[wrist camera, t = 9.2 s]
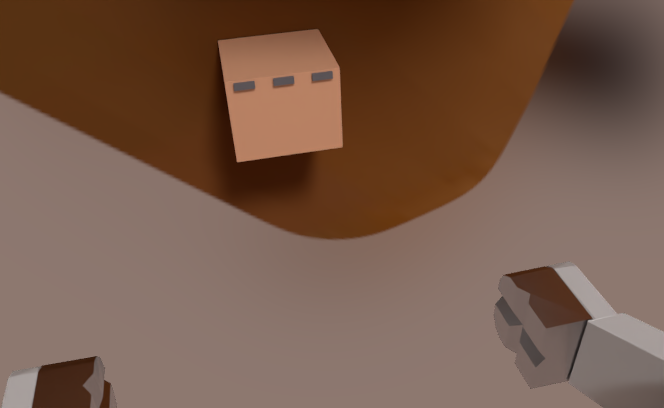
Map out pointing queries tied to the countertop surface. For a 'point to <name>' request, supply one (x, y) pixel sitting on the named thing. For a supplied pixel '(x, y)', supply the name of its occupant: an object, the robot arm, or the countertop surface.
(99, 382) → the robot arm
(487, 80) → the countertop surface
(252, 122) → the block
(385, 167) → the countertop surface
